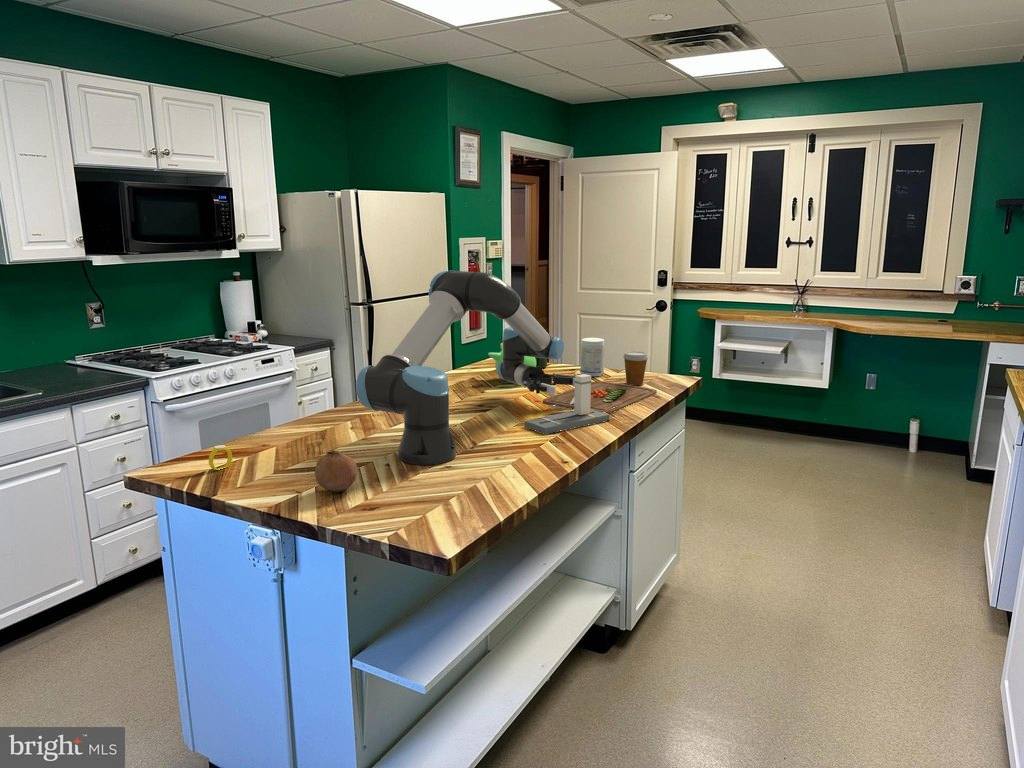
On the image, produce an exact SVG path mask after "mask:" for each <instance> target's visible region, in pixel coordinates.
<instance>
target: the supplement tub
mask: <svg viewBox="0 0 1024 768" xmlns="http://www.w3.org/2000/svg"><path fill="white" fill-rule="evenodd" d="M580 343H581V344H580V375H582V374H586V375H590V376H591V378H592V377H594V378H595V377H602V376H603V375H604V370H605V369H604V366H605V339H604V338H600V337H585V338H581V341H580Z"/></svg>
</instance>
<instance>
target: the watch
mask: <svg viewBox="0 0 1024 768" xmlns="http://www.w3.org/2000/svg"><path fill="white" fill-rule="evenodd" d="M220 451H221V452H222V451H226V453H227V460H226V463H225V464H224V465H222V466H220V467H216V466H215V465H214V464H215V463H214V458H215V455H216V454H217V453H218V452H220ZM232 461H233V454H232V451H231V450H230V449H229V448H228V447H227V446H226V445H224V444H222V445H221V444H220V445H215V446H213V450H212V451H211V452H210V453H209V456H208V464H209V466H210V468H211V469H212V470H214V471H216V470H220V469H223V468H226V467H228V468H229V467H230V465H231V464H232ZM226 469H227V468H226ZM223 470H224V469H223ZM220 471H221V470H220Z"/></svg>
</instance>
